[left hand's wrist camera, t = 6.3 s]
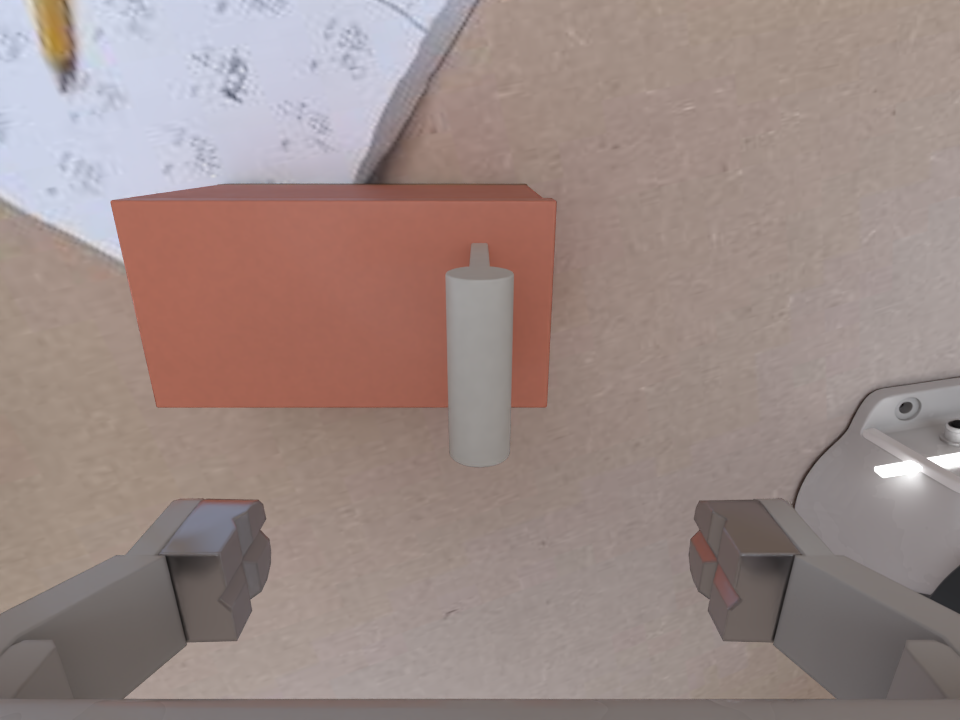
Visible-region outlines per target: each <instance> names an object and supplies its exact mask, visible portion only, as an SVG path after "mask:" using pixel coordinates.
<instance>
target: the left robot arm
mask: <svg viewBox="0 0 960 720" xmlns="http://www.w3.org/2000/svg"><path fill="white" fill-rule="evenodd" d="M904 402H905V403H904ZM902 403H904V405H903V406H902V407H901V408H899V407H900V405H901V404H902ZM265 520H266V516H265V511H264V506H263V504H262V503H261V502H260V501H259V500H244V499H178V500H174V501H173V502H172V503H171V504H170V505H169V506H168V507H167V508H166V509H165V511H164V512H163V513H162V514H161V515H160V516H159V517H158V518H157V520H156V521H155V522H154V523H153V524H152V525H151V526H150V528H149V529H148V530H147V531H146V532H145V533H144V534H143V536H142V537H141V538H140V539H139V540H138V541H137V542H136V543H135V545H134V546H133V547H132V548H131V549H130V550H129V551H128V553H127V554H126V555H116V556H114V557H112V558H110V559H108V560H106V561H104V562H102V563H100V564H98V565H96V566H94V567H92V568H90V569H88V570H86V571H84V572H82V573H80V574H78V575H76V576H74V577H72V578H70V579H68V580H66V581H64V582H62V583H60V584H59V585H57V586H55V587H53V588H51V589H49V590H47V591H45V592H43V593H41V594H39V595H37V596H35V597H33V598H31V599H29V600H27V601H25V602H23V603H21V604H19V605H17V606H15V607H13V608H11V609H9V610H7V611H5V612H3V613H1V614H0V720H960V377H958V378H951V379H944V380H937V381H930V382H924V383H917V384H910V385H903V386H896V387H890V388H883V389H879V390H876V391H874V392H872V393H871V394H870V395H869V396H868V397H867V398H866V399H865V400H864V401H863V403H862V404H861V406H860V407H859V409H858V411H857V413H856V415H855V416H854V418H853V420H852V422H851V424H850V427H849V429H848V430H847V431H846V432H845V434H844V435H843V436H842V437H841V438H840V439H839V440H838V441H837V442H836V443H835V444H834V445H833V446H832V447H831V448H829V449H828V450H827V451H826V452H825V453H824V454H823V455H822V456H821V458H820V459H819V460H818V461H817V462H816V463H815V465H814V466H813V467H812V469H811V470H810V472H809V473H808V475H807V476H806V478H805V480H804V482H803V484H802V486H801V488H800V491H799V493H798V496H797V500H796V504H795V509H794V508H793V507H792V506H791V505H790V504H789V503H788V502H787V501H785V500H783V499H781V498H773V499H753V500H701V501H699V502H698V504H697V506H696V510H695V515H694V520H695V522H696V524H697V526H698V527H699V529H700V530H699V531H698V532H697V533H696V534H695V535H694V536H693V537H692V538H691V540H690V548H689V563H690V571H691V574H692V578H693V581H694V583H695V585H696V587H697V590H698V592H700V593H701V594H703V595H704V596H705V597H707V598H708V599H710V601H709V607H708V612H709V614H710V616H711V618H712V620H713V622H714V624H715V626H716V628H717V630H718V632H719V634H720V636H721V638H722V640H723V641H741V642H774V643H773V645H774V646H775V647H776V648H778V649H779V650H780V651H781V652H782V653H783V654H785V655H786V656H787V657H788V658H789V659H791V660H792V661H793V662H794V663H795V664H796V665H798V666H799V667H800V668H801V669H802V670H804V671H805V672H806V673H807V674H808V675H809V676H811V677H812V678H813V679H814V680H815V681H817V682H818V683H819V684H820V685H821V686H822V687H824V688H825V689H826V690H827V691H828V692H830V693H831V694H832V695H833V696H834V697H835V698H837V699H124V698H125V697H126V696H127V695H128V694H129V693H131V692H132V691H133V690H134V689H135V688H137V687H138V686H139V685H140V684H141V683H142V682H144V681H145V680H146V679H147V678H148V677H150V676H151V675H152V674H153V673H154V672H156V671H157V670H158V669H159V668H160V667H161V666H163V665H164V664H165V663H166V662H167V661H169V660H170V659H171V658H172V657H173V656H174V655H176V654H177V653H178V652H179V651H180V650H182V649H183V648H184V647H185V646H186V645H187V643H186V642H218V641H237V640H238V638H239V636H240V634H241V632H242V630H243V628H244V626H245V624H246V622H247V620H248V618H249V616H250V614H251V612H252V607H251V601H250V599H252V598H253V597H255V596H256V595H257V594H259V593H260V592H262V590H263V587H264V585H265V583H266V581H267V578H268V574H269V569H270V565H271V547H270V540H269V538H268V537H267V536H266V535H265V534H264V533H263V532H262V531H261V530H260V529H261V527H262V526H263V524H264V522H265Z"/></svg>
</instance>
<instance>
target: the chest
mask: <svg viewBox="0 0 960 720" xmlns="http://www.w3.org/2000/svg"><path fill="white" fill-rule="evenodd" d="M131 198H542V197H541V196H540V195H538V194H537V193H536V192H534V191H533V190H532V189H531V188H529V187H528V186H527V184H219V185H214V186H207V187H200V188H193V189H186V190H180V191H173V192H166V193H159V194H152V195H145V196H138V197H131Z"/></svg>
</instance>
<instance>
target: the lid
mask: <svg viewBox="0 0 960 720" xmlns="http://www.w3.org/2000/svg"><path fill="white" fill-rule="evenodd" d="M556 206H557V202H556V201H555V200H554V199H552V198H124V199H117V200H112V201H111V207H112V211H113V216H114V220H115V224H116V229H117V233H118V238H119V242H120V247H121V251H122V255H123V260H124V264H125V269H126V273H127V278H128V282H129V287H130V291H131V295H132V300H133V304H134V309H135V313H136V318H137V322H138V326H139V331H140V335H141V340H142V344H143V349H144V353H145V357H146V362H147V366H148V371H149V375H150V380H151V384H152V388H153V393H154V397H155V402H156V406H157V407H448V420H449V453H450V456H451V457H452V459H453V460H455V461H456V462H458V463H460V464H462V465H465V466H470V467H490V466H494V465H497V464H500V463H502V462H503V461H505V460H506V459H507V458H508V456H509V454H510V431H511V407H547V395H548V374H549V353H550V332H551V311H552V290H553V269H554V248H555V227H556Z"/></svg>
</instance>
